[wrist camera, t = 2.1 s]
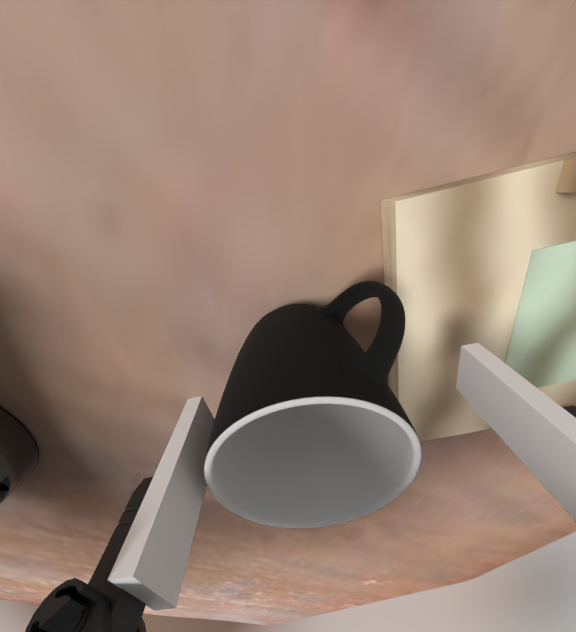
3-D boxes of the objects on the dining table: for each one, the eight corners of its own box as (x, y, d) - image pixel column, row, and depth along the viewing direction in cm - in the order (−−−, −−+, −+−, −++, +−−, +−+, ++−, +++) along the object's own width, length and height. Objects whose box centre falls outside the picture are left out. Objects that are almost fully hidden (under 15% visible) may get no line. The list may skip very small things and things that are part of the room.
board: (390, 427, 24) (407, 461, 21) (380, 200, 14) (409, 203, 11) (601, 387, 23) (652, 417, 20) (743, 109, 13) (887, 85, 10)
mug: (309, 397, 22) (334, 543, 13) (217, 357, 19) (168, 503, 10) (404, 292, 17) (542, 400, 8) (300, 221, 15) (340, 269, 6)
